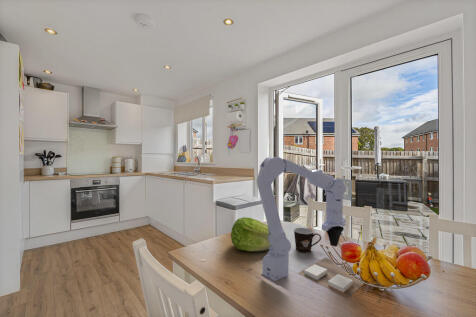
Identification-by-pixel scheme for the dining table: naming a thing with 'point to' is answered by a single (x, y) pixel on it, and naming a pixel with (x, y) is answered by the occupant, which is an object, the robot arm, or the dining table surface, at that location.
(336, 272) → the board
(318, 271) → the tile
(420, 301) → the dining table surface
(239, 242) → the lettuce
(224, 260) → the dining table surface
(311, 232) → the coffee mug
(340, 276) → the tile
